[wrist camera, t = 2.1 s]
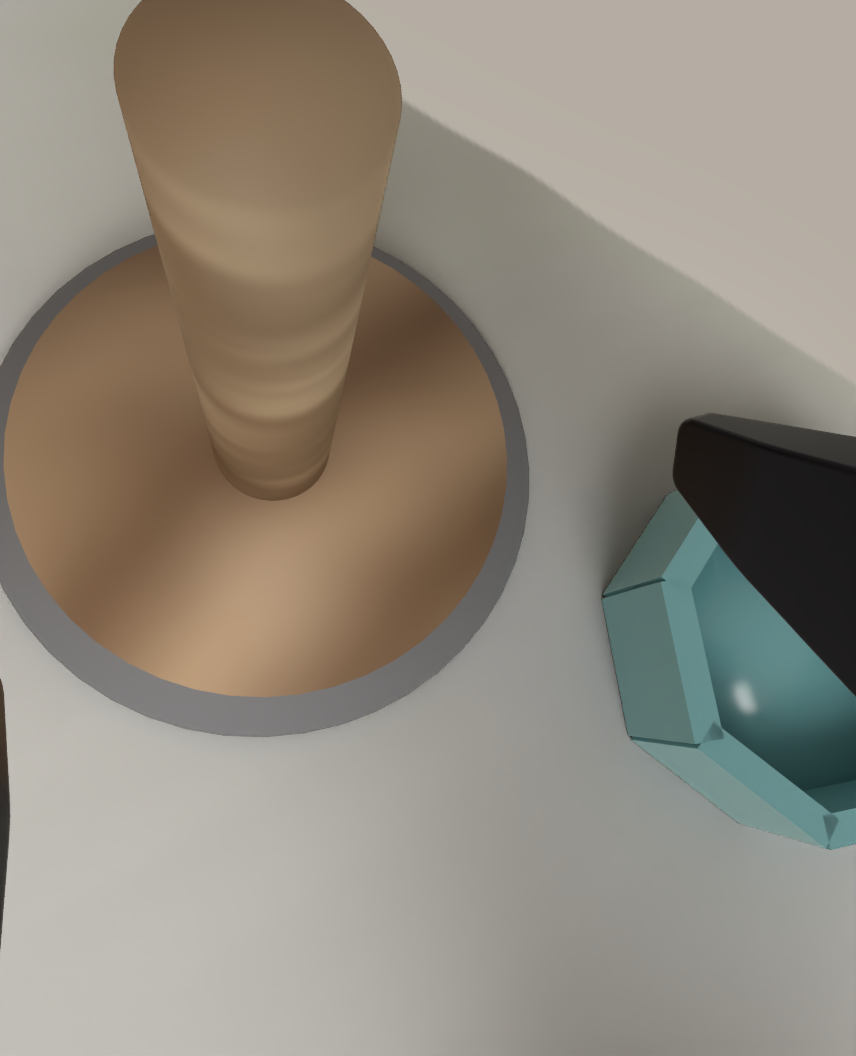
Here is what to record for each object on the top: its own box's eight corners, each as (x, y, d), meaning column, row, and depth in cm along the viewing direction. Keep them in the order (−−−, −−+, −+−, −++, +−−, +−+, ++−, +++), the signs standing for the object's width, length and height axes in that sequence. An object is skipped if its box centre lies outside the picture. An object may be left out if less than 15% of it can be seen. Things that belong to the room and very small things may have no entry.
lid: (576, 433, 22) (956, 105, 10) (311, 801, 18) (378, 1029, 6) (241, 169, 22) (191, -518, 9) (-101, 487, 18) (-932, 38, 6)
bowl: (946, 613, 24) (1055, 600, 21) (818, 886, 21) (921, 922, 18) (711, 426, 24) (782, 383, 20) (548, 676, 21) (601, 673, 17)
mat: (613, 434, 23) (619, 430, 23) (316, 856, 19) (317, 860, 18) (237, 138, 23) (236, 128, 22) (-157, 496, 18) (-166, 492, 18)
